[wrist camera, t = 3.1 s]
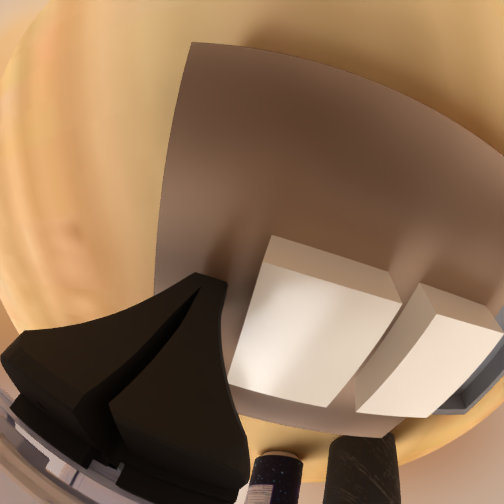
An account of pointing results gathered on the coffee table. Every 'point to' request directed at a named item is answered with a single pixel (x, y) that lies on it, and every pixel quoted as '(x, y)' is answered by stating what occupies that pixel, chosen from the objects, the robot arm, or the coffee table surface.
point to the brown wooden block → (322, 196)
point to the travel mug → (362, 471)
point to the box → (477, 379)
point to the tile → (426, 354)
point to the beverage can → (275, 479)
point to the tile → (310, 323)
